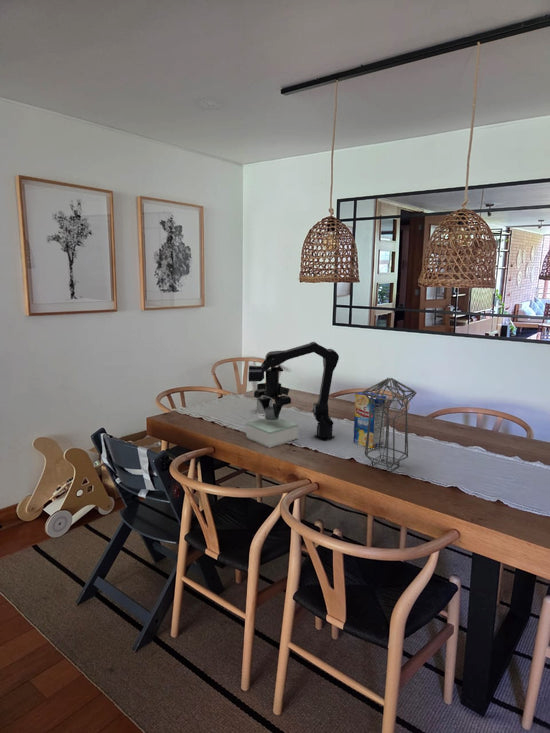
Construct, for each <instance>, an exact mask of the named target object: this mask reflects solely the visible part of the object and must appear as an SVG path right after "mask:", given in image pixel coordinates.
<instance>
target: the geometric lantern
mask: <svg viewBox="0 0 550 733" xmlns="http://www.w3.org/2000/svg"><path fill="white" fill-rule="evenodd" d="M402 387H403V388H405V389H407V390H405V389H403V388H402ZM386 389H388V390H389V391H390V393H391V399H390V398H386V399H383V398H382V396H384V393H385V391H386ZM381 390H382V393H381ZM393 390H394V391H393ZM361 392H362V394H363V393H364V395H365V396H366V397H367V398H368V399H369V400H370V409H369V412H370V413H369V423H368V431H367V438H366V446H365V447H364V456H365V457H366V458H367V459H368V460H370V462H371V464H372V466H374V465H373V463H375V464H377V465H380V466H383V467H386V468H387V470H389V471H390V470H392V469H393V468H392V467H393V466H395V465H396V464H397V463H398V464H399V465H400V462H401V461H404V460H405V459H407V458H409V440H408V438H409V437H408V435H409V434H408V433H409V432H408V413H409V412H408V404H409V403H410V401H411V400H413V398H414V397H415V396H416V395H417V391H416V390H414V389H412V388H411V387H408V386H407V385H405V384H403V383H402V382H400V381H398V380H396V379H395V378H393V377H387V378H386V379H383V380H381V381H380V382H377V383H376V384H373V385H372V386H370V387H368V388H366V389H364V390H362V391H361ZM366 392H371V394H368V393H366ZM372 393H375V395H372ZM380 393H381V394H380ZM401 393H402V395H401ZM406 393H408V394H406ZM367 395H368V396H370V397H371V399H370V398H369V397H368V396H367ZM376 395H377V396H376ZM378 395H381V396H380V398H379V397H378ZM372 398H373V401H372ZM374 398H376V399H379V404H375V403H374ZM381 400H386V403H383V402H382V401H381ZM405 400H406V402H405ZM380 401H381V402H382V404H380ZM400 401H401V402H400ZM392 402H397V403H398V404H399V405H400V408H396V407H391V406H390V405H391V404H392ZM371 403H373V405H375V406H376V405H379V406H381V407H382V416H380V415H376V414H373V413H372V412H373V410H376V409H378V408H381V407H378V408H376V409H374V408H375V406H374V408H373V410H371ZM385 404H386V406H385ZM387 404H388V405H387ZM382 405H384V406H382ZM403 407H405V410H403V409H402V408H403ZM384 408H385V410H384ZM386 409H387V410H386ZM390 409H393V410H397V412H396V414H395V415H394V417H393V418H392V417H389V411H390ZM371 411H372V412H371ZM383 412H384V413H385V417H383ZM399 412H404V413H403V414H401V415H398V414H399ZM371 414H373V415H376V416H380V417H382V418H381V428H380V437H379V445H378V447H376V448H374V449H372V450H371V449H370V450H369V448H368V445H369V432H370V419H371ZM403 416H405V427H404V451H401V450H398V449H395V446H396V445H395V444H396V442H395V432H396V431H395V421H396V419H398V418H400V417H403ZM383 418H385V420H386V421H385V422H386V424H385V439H384V440H385V443H384V445H383V446H380V440H381V431H382V422H383ZM390 420H391V421H392V447H390V446H389V440H390V439H389V436H390V435H389V434H390ZM380 448H383V452H382V453H381V449H380ZM375 450H378V452H379V455H378V456H377V457H371V456H370V455H369V453H372V452H374V451H375ZM389 450H390V451H392V456H390V455H388V454H389ZM385 451H386V453H385ZM395 452H398V453H400V454H402V455H401V456H400V457H399V458H395ZM384 454H386V455H384ZM403 456H405V457H403ZM384 458H385V460H386V461H380V459H381V460H382V459H383V460H384ZM388 459H392V462H393V463H390V462H387V461H389V460H388ZM395 460H397V461H395ZM377 461H378V462H377ZM372 466H371V467H372Z"/></svg>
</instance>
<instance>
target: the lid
mask: <svg viewBox="0 0 550 733" xmlns="http://www.w3.org/2000/svg"><path fill="white" fill-rule="evenodd" d="M245 425H248V426H251V427H253V428H256V429H258V430H261V431H263V432H266V433H268V434H272V433H275V432H279V431H282V430H286V429H289V428H293V427H296V426H298V425H299V424H298V423H295V422H291V421H289V420H287V419H283V418H282V417H281V418H280V417H279V419H278V420H267V419H265V417H264V418H260V419H257V420H253V421H248V422H246V423H245ZM298 427H299V426H298Z"/></svg>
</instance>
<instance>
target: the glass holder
mask: <svg viewBox="0 0 550 733" xmlns="http://www.w3.org/2000/svg"><path fill="white" fill-rule="evenodd" d="M264 383H265V382H262V383H258V384H257V385H256V390H260V389H265V390H266V386H264ZM280 396H283V394H282V395H280ZM269 406H273V399H271V400H270V402H269ZM256 413H258V414H265V411H264V409H263V407H262V405H261V403H260V401H259V400H258V398H256V412H255V414H256Z"/></svg>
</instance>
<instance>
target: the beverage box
mask: <svg viewBox="0 0 550 733" xmlns="http://www.w3.org/2000/svg"><path fill="white" fill-rule="evenodd" d="M366 393H368V394H371V392H366ZM354 395H355V396H354V419H353V440H352V441H353V442H356V443H359V444H362V445H364V446H366V438H367V431H368V423H369V413H370V412H369V409H370V400H369V399H368V398H367V397H366V396H365V395H364V393H363V394H362V391H360V392H356V393H355V394H354ZM372 395H375V392H372ZM367 396H368V395H367ZM376 396H377V395H376ZM380 396H381V394H379V395H378V397H379V398H380ZM368 397H369V398H370V399H371V397H370V396H368ZM382 398H383V399H387V396H386V395H383V396H382ZM372 401H373V398H372ZM381 401H382V402H383V403H386V402H387V400H381ZM381 401H380V404H382V402H381ZM374 403H375V404H379V399H376V398H374ZM374 406H375V405H373V403H371V410H373V408H374ZM382 406H384V405H382ZM385 406H387V404H385ZM378 407H381V406H379V405H376V406H375V408H374V409H376V408H378ZM384 410H385V411H386V408H384ZM371 412H372V411H371ZM372 413H373V414H376V415H380V416H382V407H381V408H378V409H376V410H373V412H372ZM373 414H371V419H370V432H369V445H368V447H369V448H372V449H373V448H376V447H378V445H379V437H380V428H381V418H382V417H380V416H376V415H373ZM383 417H386V414H385V413H384V412H383ZM385 422H386V418H383V422H382V431H381V440H380V446H382V445H383V446H384V445H385V443H384V440H385V427H386V424H385ZM353 442H352V443H353ZM356 443H355V444H356ZM369 448H368V449H369Z"/></svg>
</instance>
